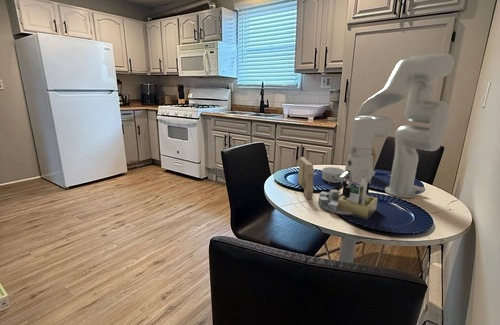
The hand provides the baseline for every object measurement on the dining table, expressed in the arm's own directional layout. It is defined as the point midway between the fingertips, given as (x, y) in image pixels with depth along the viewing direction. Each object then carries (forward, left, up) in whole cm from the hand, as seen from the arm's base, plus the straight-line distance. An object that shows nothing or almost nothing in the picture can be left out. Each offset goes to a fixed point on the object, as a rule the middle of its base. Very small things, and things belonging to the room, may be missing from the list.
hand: (355, 194), depth 103 cm
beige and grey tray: (+2, -5, -8) cm, 9 cm away
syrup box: (-1, -1, -7) cm, 7 cm away
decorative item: (-20, -45, -8) cm, 50 cm away
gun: (+16, -22, -8) cm, 29 cm away
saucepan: (+1, -33, -8) cm, 34 cm away
